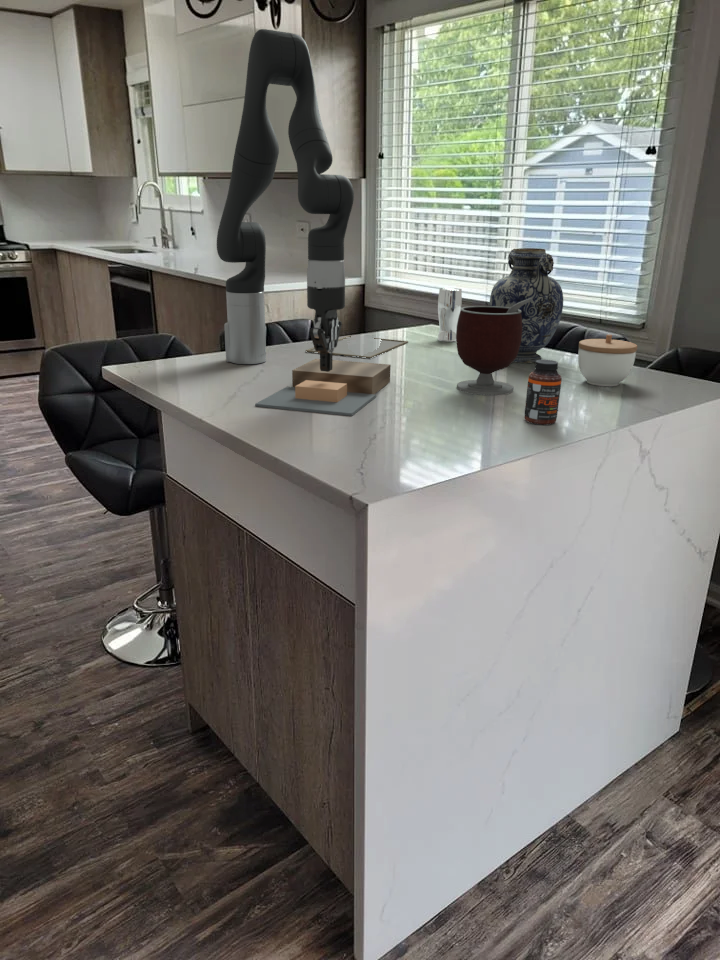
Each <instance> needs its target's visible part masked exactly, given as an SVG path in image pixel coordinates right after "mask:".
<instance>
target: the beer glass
mask: <svg viewBox="0 0 720 960" xmlns="http://www.w3.org/2000/svg"><path fill="white" fill-rule="evenodd" d="M462 293H463V291H462V288H457V287H456V288H455V287H441V288H439V291H438V299H437V313H438V322H439V323H438V324H439V329H438V335H437V341H438V342H444V343H450V342H451V343H453V342H454V343H456V330H457V322H458V318H459V314H460V311H461V310H460V309H461V308H462V301H463V300H462V298H463V297H462V295H463V294H462Z"/></svg>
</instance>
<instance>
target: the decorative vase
mask: <svg viewBox="0 0 720 960" xmlns="http://www.w3.org/2000/svg"><path fill="white" fill-rule="evenodd" d="M546 251H547V250H546V249H545V248H534V247H533V248H532V247H524V248H523V247H522V248H513V249H511V250H510V252H509V253H508V257H507V264H508V267H509V269H510V270H511V271H510V273H509V274H508V275H507V276H504V277H502V278H500V279H499V280H497V281H496V283H495V284H494V285H493V287H492V289H491V292H490V297H489V306H498V307H509V308H511V307H512V306H513V305H515V304H517V303H519V302H521V301H524V300H526V299H530V298H533V302H528V303H526V304H524V305H523V306H521V307H520V308H519V310H521V316H522V339H521V344H520V348H519V352H518V355H517V357H516V359H515V360H514V361H513V362H512V363H517V364H518V363H519V364H520V363H521V364H532V363H533V364H534V363H535V364H536V361H537V360H543V359H542V356H541V355H540V354H539V353H537V352H538V351H540V350H541V349H543V348H545V347H546V346H547V345H548V344H549V343H550V342H551V339H552V338H553V337H554V335H555V332H556V331H557V329H558V326H559V324H560V321H561V318H562V313H563V308H564V294H563V293H564V291H563V289H562V286H561V284H560V283H559V282H558V281H557V280H556V279H555V278H553V277H551V276H549V275H550V274H551V273H552V271H553V270H554V264H555V262H554V258H553V255H552V254H550V253H547V252H546Z"/></svg>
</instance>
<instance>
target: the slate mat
mask: <svg viewBox="0 0 720 960" xmlns="http://www.w3.org/2000/svg"><path fill="white" fill-rule="evenodd" d="M376 398H377V393H375V394H365V393H354V392H347V396H346V397H344V398H343V399H341V400H340V401H339V402H329V401H319V400H308V399H298V398H295V387H292V386H288V385H287V386H286V387H283V388H281V389H279V390H278V391H277V392H274V393H272V394H271V395H268V396H267V397H264V398H263V399H261V400H260V401H257V402H255V404H254V407H260V408H269V409H270V408H271V409H280V410H287V411H289V410H290V411H299V412H308V413H318V414H319V413H320V414H328V415H329V414H332V415H340V416H349V417H353V416H354V415H355V414H356V413H358V412H359V411H361V410H362V409H363V408H364V407H365V406H367V405H368V404H369V403H370V402H372V401H373V400H374V399H376Z"/></svg>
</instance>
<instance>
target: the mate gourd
mask: <svg viewBox="0 0 720 960" xmlns="http://www.w3.org/2000/svg"><path fill="white" fill-rule="evenodd" d="M528 302H533V298H530V299H526V300H524V301H521V302H519V303H517V304H515V305H513V306H512V307H511V308H509V307H498V306H490V305H473V306H472V305H471V306H463V307H462V306H461V309H460V310H461V311H460V314H459V318H458V322H457V330H456V341H455V343H456V351H457V355H458V357H459V359H460V361H462V363H463V364H464V365H465V366H466V367H468V368H471V369H473V370H475V371H476V372H478V373H479V375H478V376H477V379H467V380H462V381H460V382H457V383H456V389H457V390H458V391H460V392H463V393H466V394H471V395H477V394H478V396H503V395H508V393H509V394H511V393H513V392H512V391H513V390H514V386H513V385H512V384H509V383H507V382H504V381H499V380H494V377H493V373H495V372H497V371H500V370H503V369H506V368H508V367H510V366H511V364H512V363H514V362H513V361H514V360H515V359H516V357H517V355H518V352H519V348H520V344H521V339H522V316H521V310H519V308H520V307H521V306H523V305H524V304H526V303H528Z"/></svg>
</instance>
